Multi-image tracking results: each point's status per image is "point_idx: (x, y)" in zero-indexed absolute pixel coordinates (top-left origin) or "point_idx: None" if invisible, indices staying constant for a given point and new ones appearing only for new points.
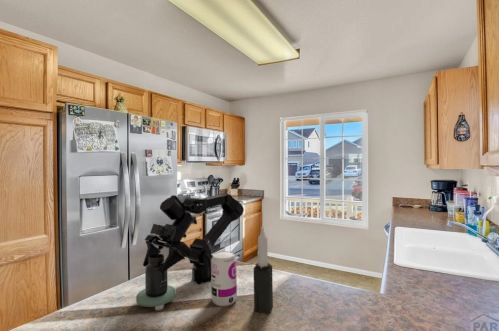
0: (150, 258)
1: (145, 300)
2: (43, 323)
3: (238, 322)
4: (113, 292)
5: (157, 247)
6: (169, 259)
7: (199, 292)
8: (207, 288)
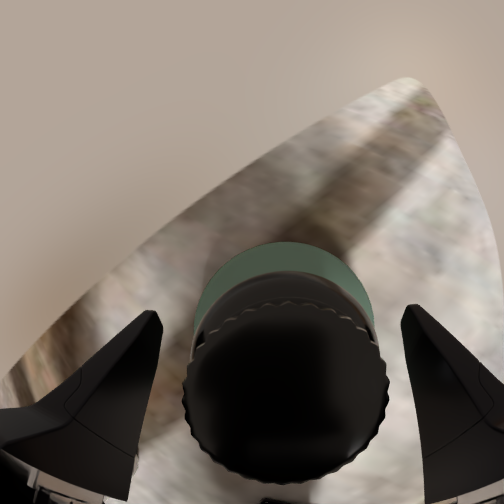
0: (281, 307)
1: (264, 262)
2: (414, 82)
3: (32, 364)
4: (480, 260)
5: (463, 501)
6: (67, 388)
7: (208, 464)
8: (209, 491)
